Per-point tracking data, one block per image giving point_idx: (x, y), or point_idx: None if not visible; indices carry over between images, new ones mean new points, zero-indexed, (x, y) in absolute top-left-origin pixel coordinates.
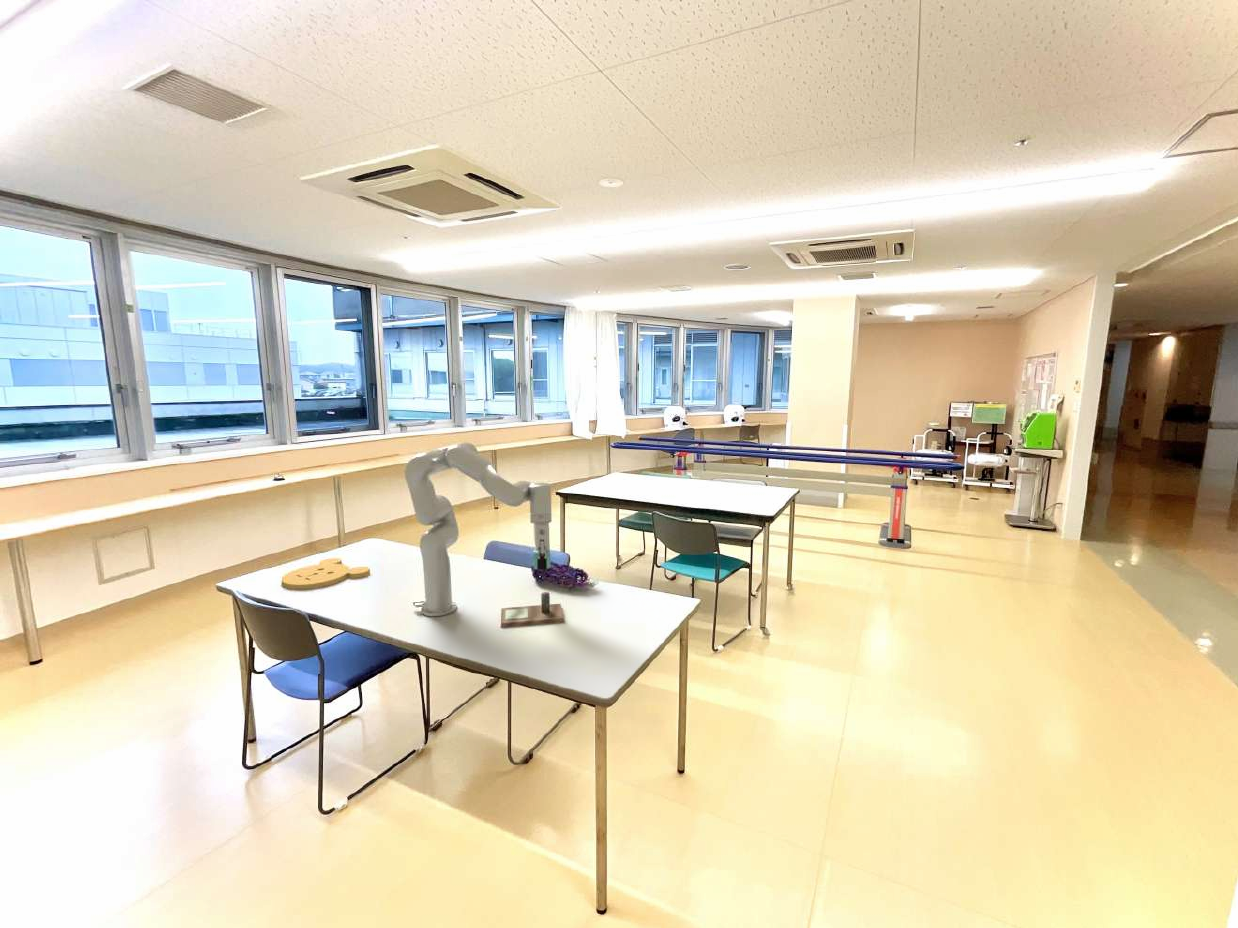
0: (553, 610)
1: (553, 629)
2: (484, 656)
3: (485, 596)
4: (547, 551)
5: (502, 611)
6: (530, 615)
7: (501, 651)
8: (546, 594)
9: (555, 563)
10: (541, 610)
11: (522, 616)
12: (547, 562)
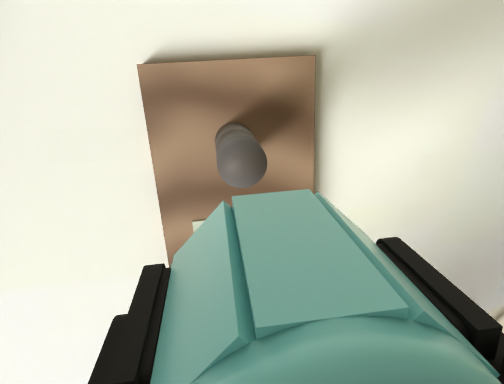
0: (221, 104)
1: (367, 105)
2: (477, 303)
3: (21, 377)
4: None
5: None
6: None
7: (466, 266)
8: (254, 157)
9: None
10: (215, 160)
11: None
12: (387, 260)
